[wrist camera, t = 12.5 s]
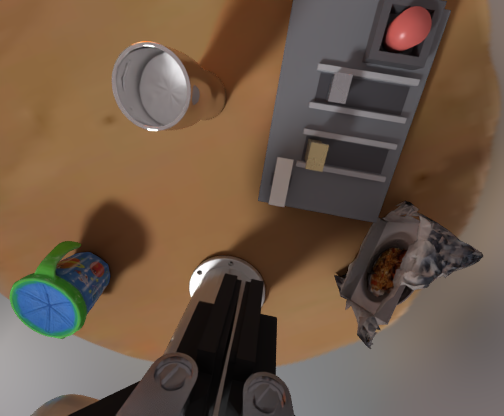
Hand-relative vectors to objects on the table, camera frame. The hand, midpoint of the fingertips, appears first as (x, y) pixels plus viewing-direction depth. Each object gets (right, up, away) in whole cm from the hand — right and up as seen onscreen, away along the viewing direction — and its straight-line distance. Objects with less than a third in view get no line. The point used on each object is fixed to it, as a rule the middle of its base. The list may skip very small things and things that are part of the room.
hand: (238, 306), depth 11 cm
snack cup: (-27, -7, +36) cm, 46 cm away
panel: (+11, +15, +23) cm, 30 cm away
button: (+16, +22, +17) cm, 32 cm away
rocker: (+4, +7, +23) cm, 25 cm away
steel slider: (+10, +18, +20) cm, 28 cm away
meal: (+18, -1, +29) cm, 34 cm away
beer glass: (-6, +19, +24) cm, 31 cm away
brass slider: (+8, +11, +22) cm, 26 cm away
